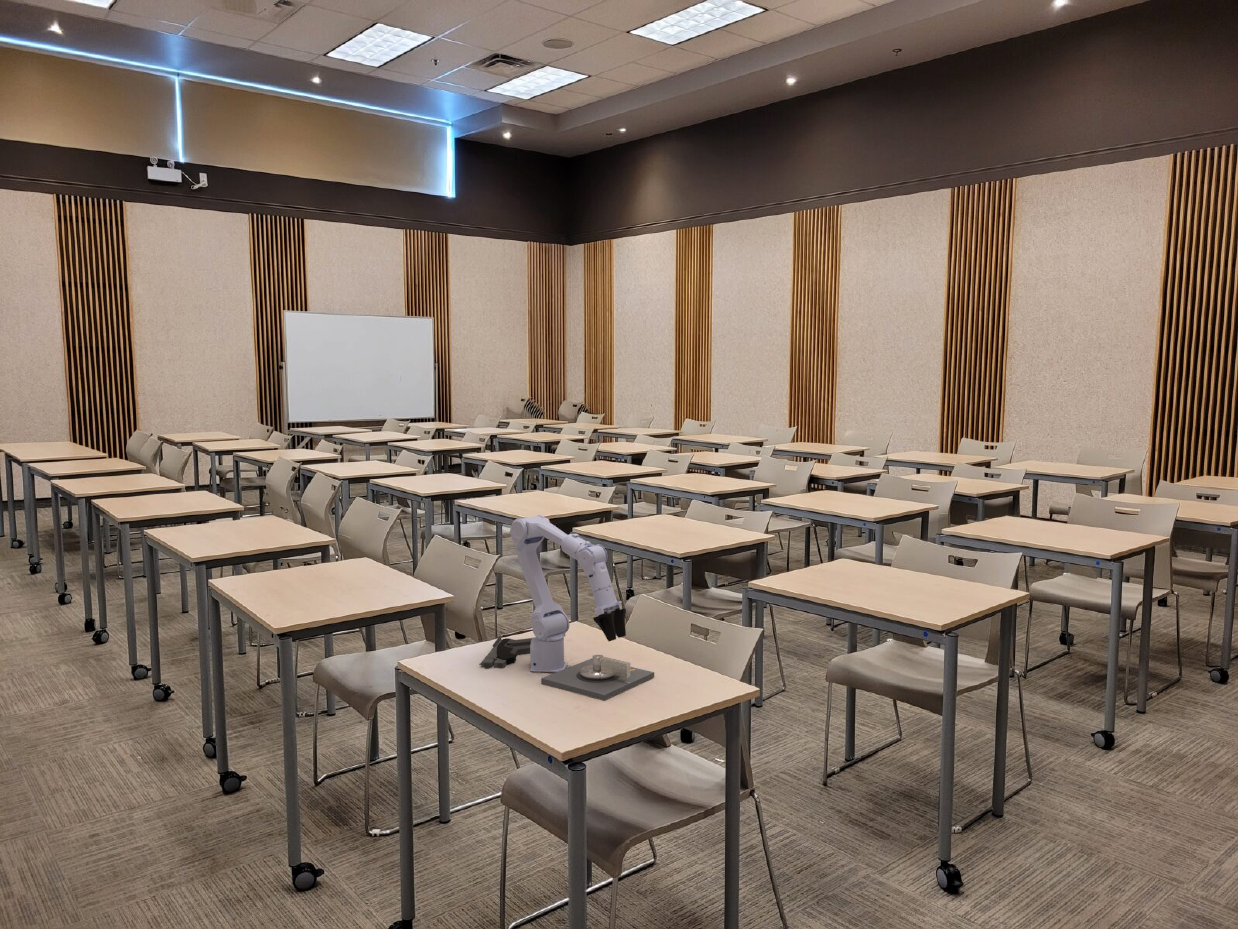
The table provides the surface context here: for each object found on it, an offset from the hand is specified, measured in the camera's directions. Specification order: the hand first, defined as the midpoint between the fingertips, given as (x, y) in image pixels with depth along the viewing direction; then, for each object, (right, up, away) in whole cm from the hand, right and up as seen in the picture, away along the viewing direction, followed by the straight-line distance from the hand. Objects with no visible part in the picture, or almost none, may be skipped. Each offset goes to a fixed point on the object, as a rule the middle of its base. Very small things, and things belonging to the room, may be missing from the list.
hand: (617, 638), depth 234 cm
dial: (-3, -11, +5) cm, 13 cm away
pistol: (-31, -12, +31) cm, 45 cm away
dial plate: (-5, -13, +7) cm, 16 cm away
